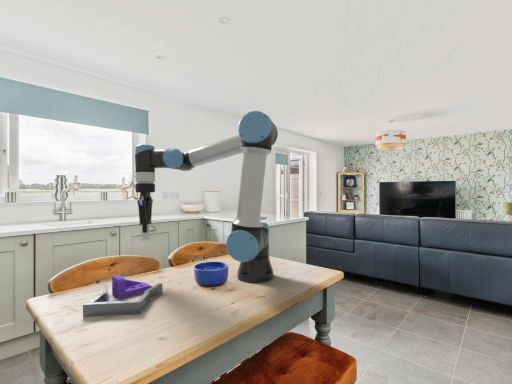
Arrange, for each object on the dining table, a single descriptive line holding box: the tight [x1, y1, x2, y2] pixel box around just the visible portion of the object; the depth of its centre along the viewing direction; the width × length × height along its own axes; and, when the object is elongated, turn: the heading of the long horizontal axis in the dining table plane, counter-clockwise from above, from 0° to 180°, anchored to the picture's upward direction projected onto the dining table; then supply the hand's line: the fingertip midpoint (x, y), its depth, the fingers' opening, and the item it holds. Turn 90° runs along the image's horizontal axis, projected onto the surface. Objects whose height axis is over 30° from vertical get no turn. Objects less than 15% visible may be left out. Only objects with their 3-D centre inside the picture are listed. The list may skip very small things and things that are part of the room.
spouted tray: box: [82, 282, 163, 318], centre depth 91 cm, size 20×19×4 cm
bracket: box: [111, 274, 154, 301], centre depth 100 cm, size 12×7×7 cm, turn 135°
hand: (145, 240), depth 115 cm, fingers closed
